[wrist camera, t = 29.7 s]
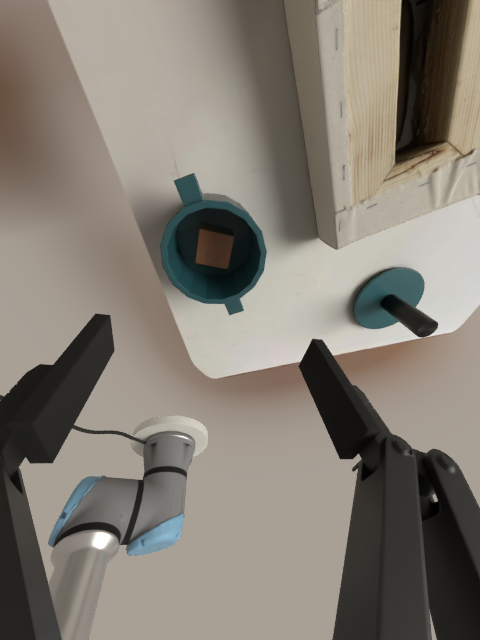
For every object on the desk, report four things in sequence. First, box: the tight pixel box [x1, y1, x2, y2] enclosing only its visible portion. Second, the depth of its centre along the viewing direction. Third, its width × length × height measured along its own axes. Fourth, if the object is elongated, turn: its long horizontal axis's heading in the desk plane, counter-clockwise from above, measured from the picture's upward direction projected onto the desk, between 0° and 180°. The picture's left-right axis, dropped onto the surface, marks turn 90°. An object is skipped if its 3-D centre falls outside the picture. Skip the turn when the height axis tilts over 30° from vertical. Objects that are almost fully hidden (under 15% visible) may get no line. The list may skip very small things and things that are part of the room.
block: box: [195, 222, 234, 269], centre depth 34 cm, size 5×5×5 cm
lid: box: [353, 267, 438, 337], centre depth 42 cm, size 15×15×11 cm
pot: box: [161, 173, 267, 315], centre depth 32 cm, size 14×19×10 cm
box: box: [284, 0, 480, 250], centre depth 25 cm, size 23×8×32 cm
